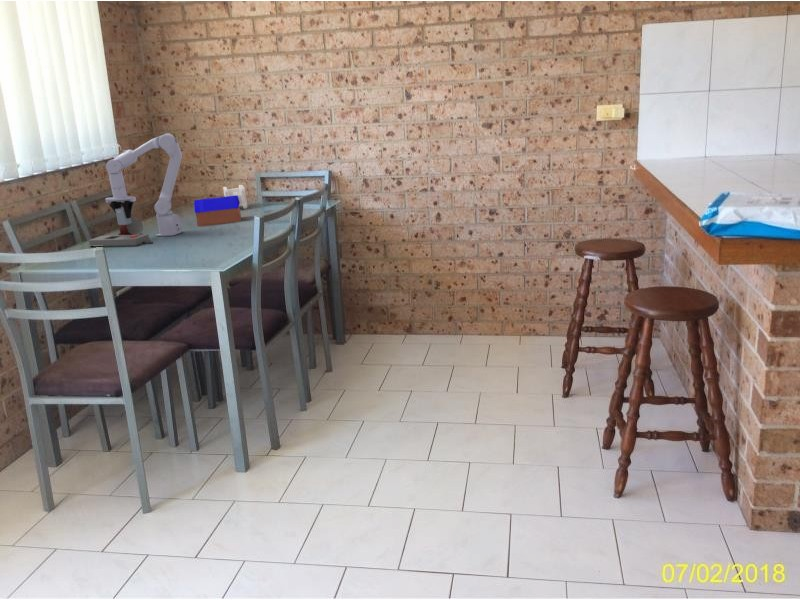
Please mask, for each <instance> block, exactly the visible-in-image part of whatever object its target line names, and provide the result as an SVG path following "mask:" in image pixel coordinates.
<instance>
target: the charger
mask: <svg viewBox="0 0 800 600" xmlns="http://www.w3.org/2000/svg"><path fill="white" fill-rule="evenodd" d="M115 211H116V213H115V215H116V220H117V225H118V226H120V225H127V224H130V223H132V222H131V218H132V217H131V218H126V215H125V211H124V208H123V206H121V208H117V209H115Z"/></svg>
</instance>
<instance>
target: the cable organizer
mask: <svg viewBox="0 0 800 600" xmlns="http://www.w3.org/2000/svg"><path fill="white" fill-rule="evenodd" d="M222 191H223V195H224V196H223V197H227V196H236V195H238V199H239V203H240V204H239V207H241V206H242V208H243V209H244V210H247V209H248V201H247V195H246V187H245V186H244V185H243V184H238V187H235V188H234V187H233V188H228V187H227V186H223V187H222Z"/></svg>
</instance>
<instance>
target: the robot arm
mask: <svg viewBox="0 0 800 600" xmlns="http://www.w3.org/2000/svg"><path fill="white" fill-rule="evenodd" d="M160 148H161V149H162V150H164V151H165V152H166V154H167V155H168V157H169V158H170V159H169V161H168V165H167V169H166V171H165V173H166V174H165V176H164V180H163V184H162V188H161V191H160V193H159V194H160V195H159V197H158V200H157V202H156V203H155V204H154V206H153V208H154V209H153V210H154V211H155V213H156V214H155V216H156V222H157V226H158V232H159V233H157V234H155V237H164V236H167V237H168V236H169V237H170V236H172V237H173V236H175V235H178V234H181V233H183V232H184V230H183V229H182V228H183V227H182V223H181V218H180V216H179V214H175V213H174V212H173V210H171V209H172V196H173V192H174V188H175V184H176V181H177V178H178V173H179V170H180V166H181V162H182V159H183V153H182V150H181V148H180V145H179V141H178V140H177V138H176V136H174V135H173V134H172V133H170V132H169V133H164V134H162V135H159V136H156V137H154V138H151V139H150V140H148V141H146V142H145V143H143V144H141V145H140V146H138V147H137V148H135V149H134V150H133V149H125V150H122V153H120V154H119V155H117V156H116V155H114V156H113V159H110V160H107V163H106V164H105V169H106V171H107V173H108V177H109V183H110V188H111V193H112V194H111V195H112V197H106V198H105V203H106V204H107V203H108V204H109V207H110V208H111V209H112V210H113V212H114V213H115V214H116V211H115V209H117V208H121V207H123V208H124V211H125V215H126V218H132V210H133V209H132V208H133V205H134V202H136V201H137V198H136V196H130V195H129V196H128V193H127V189H126V183H125V180H124V176H123V175H124V174H123V172H122V170H123V169H126V168H128V167H129V166H131V165H133V164H134V163H136V162H137V161H138V157H139V156H142V155H143V154H145V153H147V152H149V151H150V150H153V149H160Z"/></svg>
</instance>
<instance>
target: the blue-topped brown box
mask: <svg viewBox="0 0 800 600" xmlns="http://www.w3.org/2000/svg"><path fill="white" fill-rule="evenodd" d="M193 201H194V202H193V205H194V214H195V217H196V222H197V227H204V226H214V225H221V224H222V225H223V224H231V223H238V222H241V219H242V215H241V208H240V207H241V206H239V204H240V203H239V199H238V195H236V196H227V197H224V196H222V197H221V196H219V197H212V198H211V197H210V198H201V199H195V200H193Z"/></svg>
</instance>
